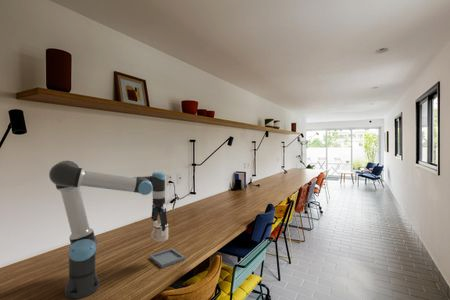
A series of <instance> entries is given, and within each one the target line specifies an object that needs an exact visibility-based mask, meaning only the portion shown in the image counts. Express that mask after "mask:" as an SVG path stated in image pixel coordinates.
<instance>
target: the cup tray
mask: <svg viewBox="0 0 450 300" xmlns="http://www.w3.org/2000/svg"><path fill="white" fill-rule="evenodd" d="M149 260H151V262H153V263H155V264H156V265H157V266H158V267H160V269H164V268H167V267H169V266H171V265H174V264H177V263H180V262H183V261H185V260H186V256H185V255H183V254H182V253H180V252H179V251H177V250H176V249H174V248H169V249H166V250H162V251H158V252H156V253H152V254H149Z"/></svg>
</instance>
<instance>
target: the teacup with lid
mask: <svg viewBox="0 0 450 300" xmlns="http://www.w3.org/2000/svg"><path fill="white" fill-rule="evenodd" d="M160 225H161V221H160V220H158V223H156V224H155V225H154V230H153V229H152V231H151V234H150V235H151V238H152V239H153V240H154V242H157V243H158V242H160V243H161V242H165V241H167V240H169V223H168V222H167V225H165V236H161V226H160Z"/></svg>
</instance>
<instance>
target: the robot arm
mask: <svg viewBox="0 0 450 300" xmlns="http://www.w3.org/2000/svg"><path fill="white" fill-rule="evenodd" d="M48 177H49V179H50V182H51V183H53V184H54V185H55V187H56V188H55V189H56V190H58V191H60V193H61V198H62V201H63V204H64V208H65V209H64V210H65V213H66V217H67V221H68V224H69V228H70V232H71V234H70V235H69V242H70V246H69V249H68V278H67V281H66V284H65V288H64V296H65V297H66V298H68V299H71V300H72V299H74V300H75V299H82V298H86V297H88V296H90V295H92V294H94V293H95V292H97V291H98V289H99V288H100V278H99V276H98V275H97V272H96V266H97V265H96V261H97V260H96V257H97V256H96V254H97V246H98V240H97V237H96V235H95V232H94V229H93V228H91V227H90V225H89V220H88V216H87V213H86V209H85V205H84V199H83V197H82V192H81V188H80V187H88V188H96V189H97V188H98V189H104V190H105V189H106V190H112V191H120V192H121V191H122V192H130V193H135V194H136V193H137V194H140V195H142V196H147V195H150V194H151V193H152V195H151V196H152V205H151V206H152V207H151V217H150V219H151V220H152V222H153V223H152V225H153V228H152V231H153V230H154V225H155V224H156V223H158V222H159V221H161V225H160V226H161V236H165V225H167V223H168V218H167V216H168V215H167V208H166V207H164V205H165V203H166V174H165V173H164V172H163V171H162V172H161V171H155V172H154V171H153V172H152V175H149V176H146V175H145V176H133V177H129V176H124V175H123V176H122V175H115V174H109V173H102V172H101V173H100V172H96V171H95V172H94V171H90V170H89V171H88V170H85V169H84V168H82V167H80V166H79V165H78V164H77V163H75V162H74V161H71V160H62V161H60V162H59V161H58V163H56V164H55V165H53V166H52V167H51V168H50V170H49V173H48ZM158 217H159V219H160V220H159V219H158Z"/></svg>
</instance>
